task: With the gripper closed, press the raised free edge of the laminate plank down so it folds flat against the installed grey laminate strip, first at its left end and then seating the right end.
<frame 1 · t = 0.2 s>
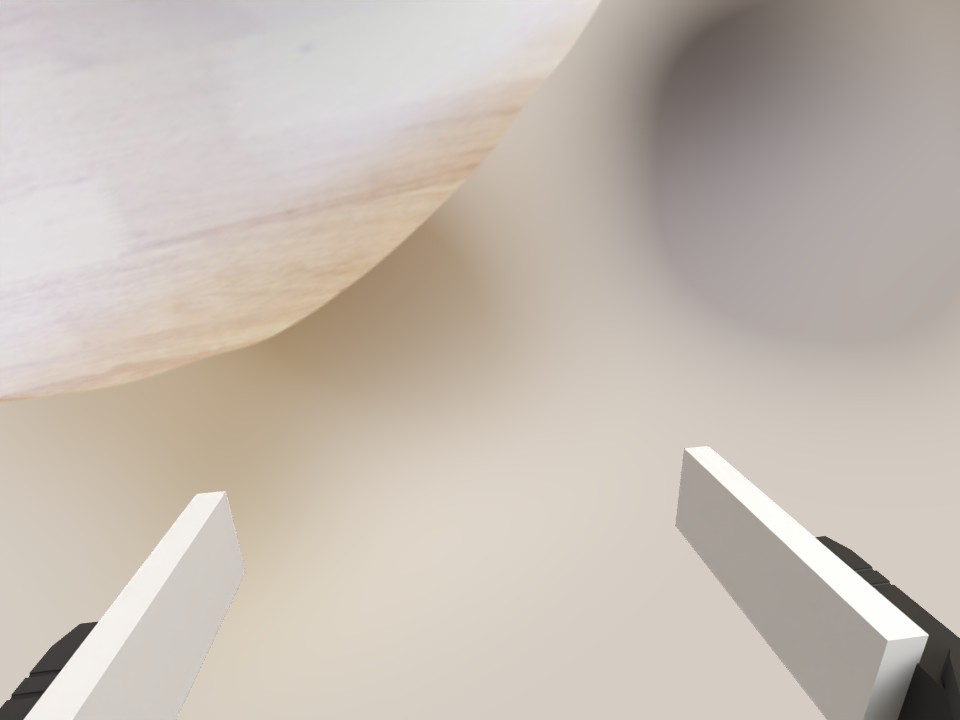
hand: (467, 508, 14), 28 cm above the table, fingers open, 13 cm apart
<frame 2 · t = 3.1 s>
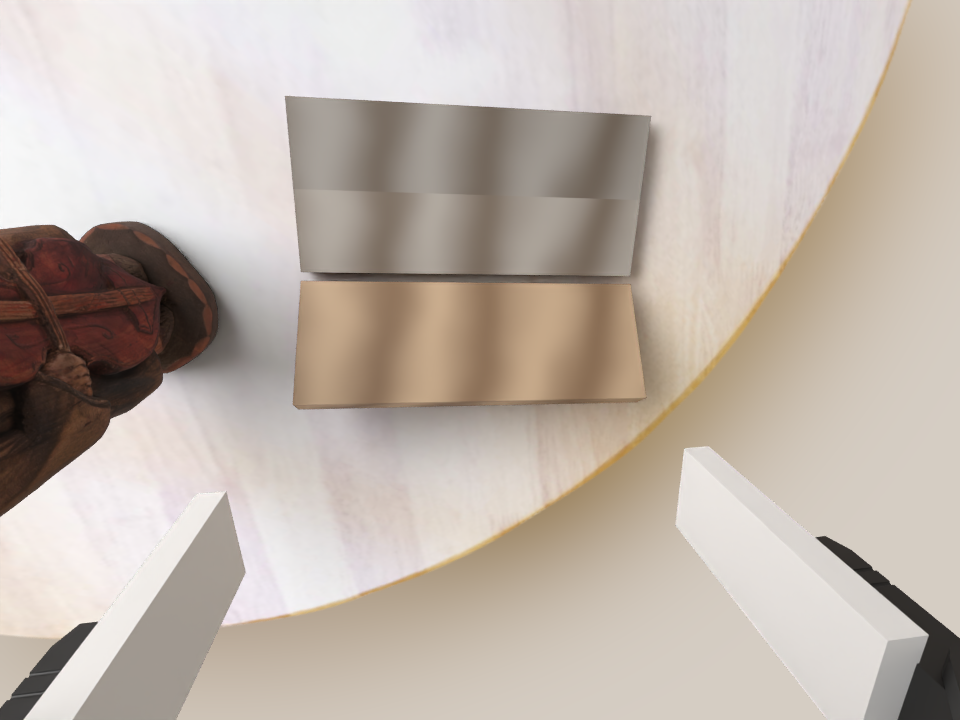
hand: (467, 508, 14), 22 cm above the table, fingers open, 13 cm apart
plank: (473, 343, 31), point 3 cm above the table, hinge at 35.0°
laid strip: (471, 194, 32), on the table
figurine: (152, 296, 32), on the table
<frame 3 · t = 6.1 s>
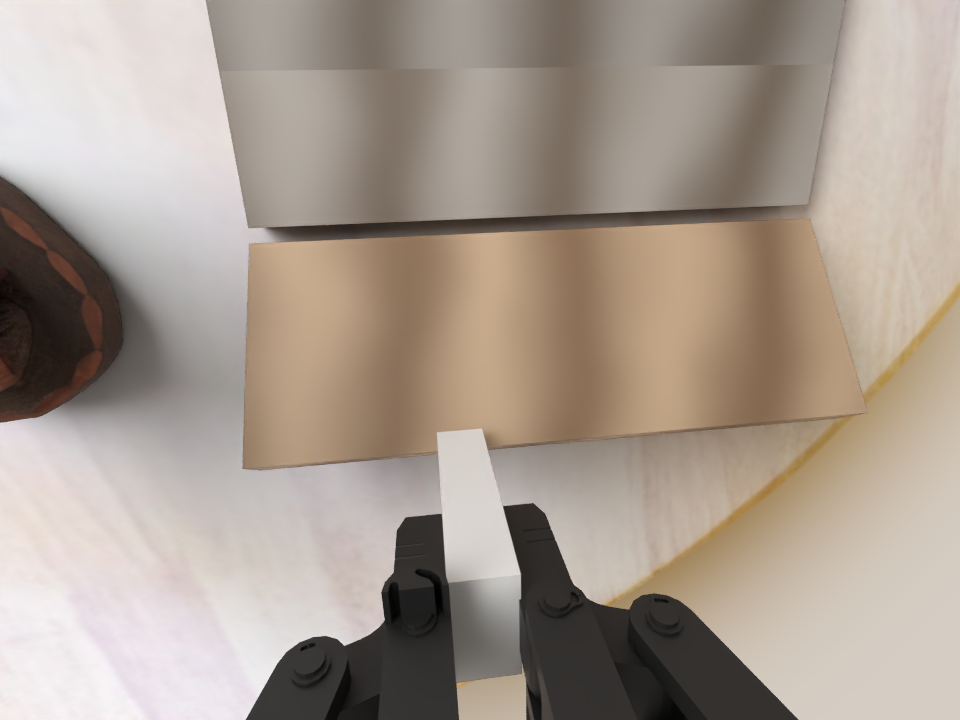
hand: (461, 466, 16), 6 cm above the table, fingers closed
plank: (555, 334, 18), point 3 cm above the table, hinge at 33.8°, touching gripper
laid strip: (536, 77, 18), on the table
figurine: (6, 289, 19), on the table
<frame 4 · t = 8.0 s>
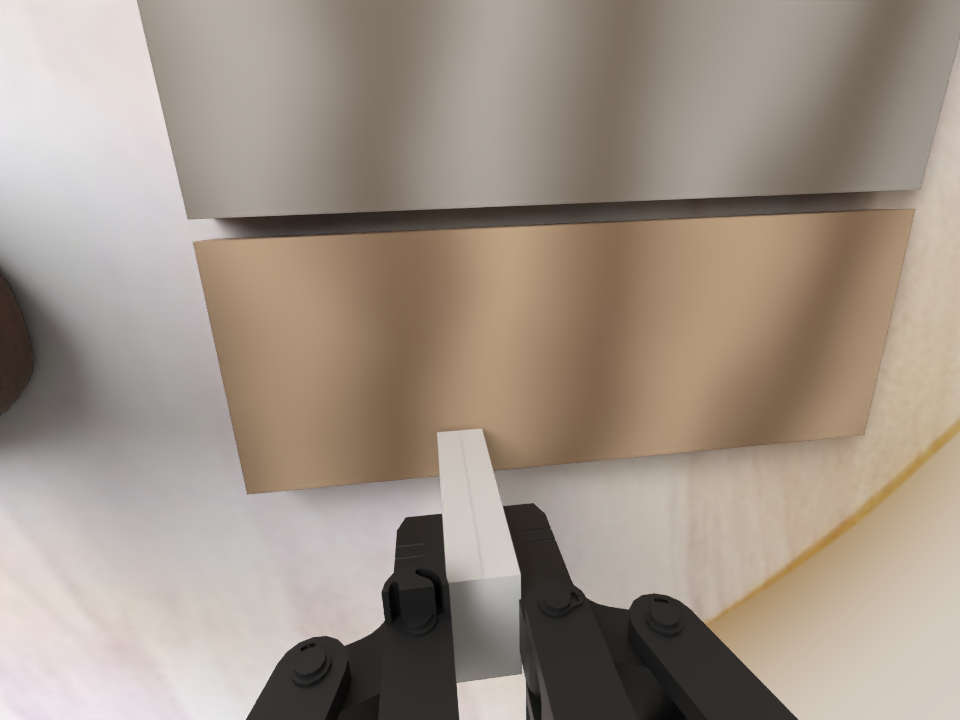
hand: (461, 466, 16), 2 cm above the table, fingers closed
plank: (571, 346, 16), point 1 cm above the table, hinge at 2.2°, touching gripper
laid strip: (572, 18, 14), on the table
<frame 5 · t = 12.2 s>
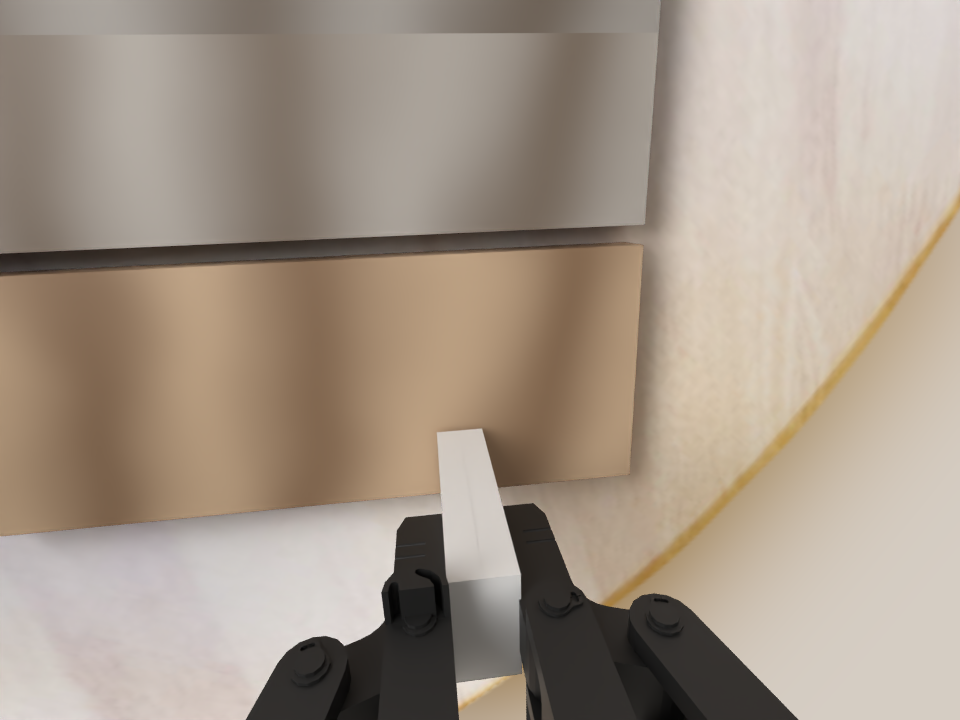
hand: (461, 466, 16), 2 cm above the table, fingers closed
plank: (300, 385, 16), point 1 cm above the table, hinge at 1.7°, touching gripper
laid strip: (253, 51, 13), on the table
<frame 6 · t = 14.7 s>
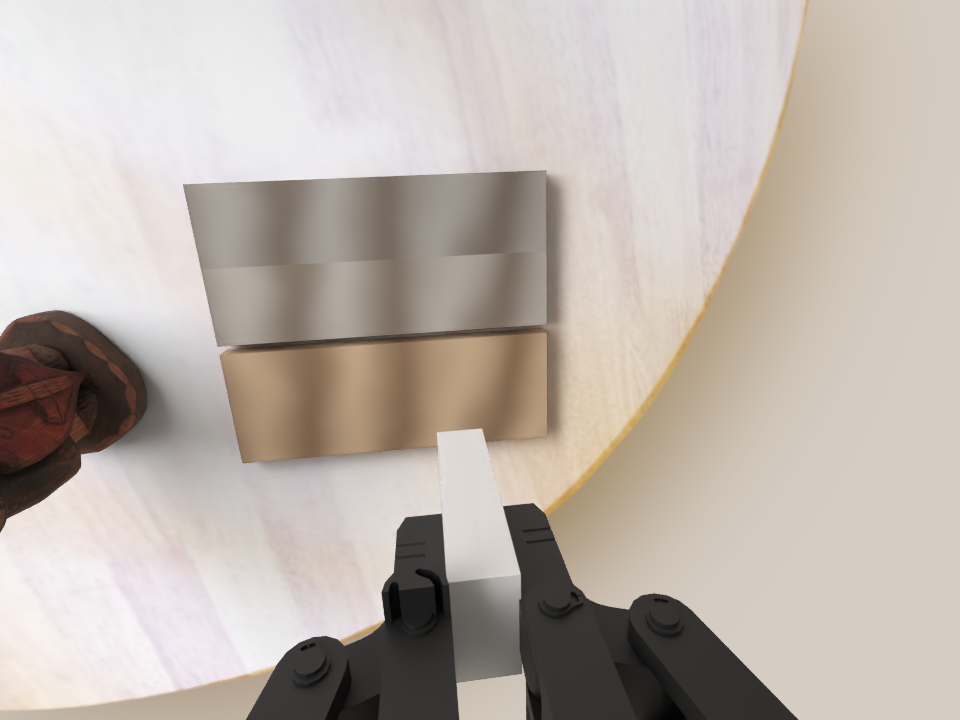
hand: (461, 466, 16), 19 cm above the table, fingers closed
plank: (394, 394, 34), point 1 cm above the table, hinge at 0.0°
laid strip: (381, 257, 32), on the table
figurine: (82, 378, 33), on the table
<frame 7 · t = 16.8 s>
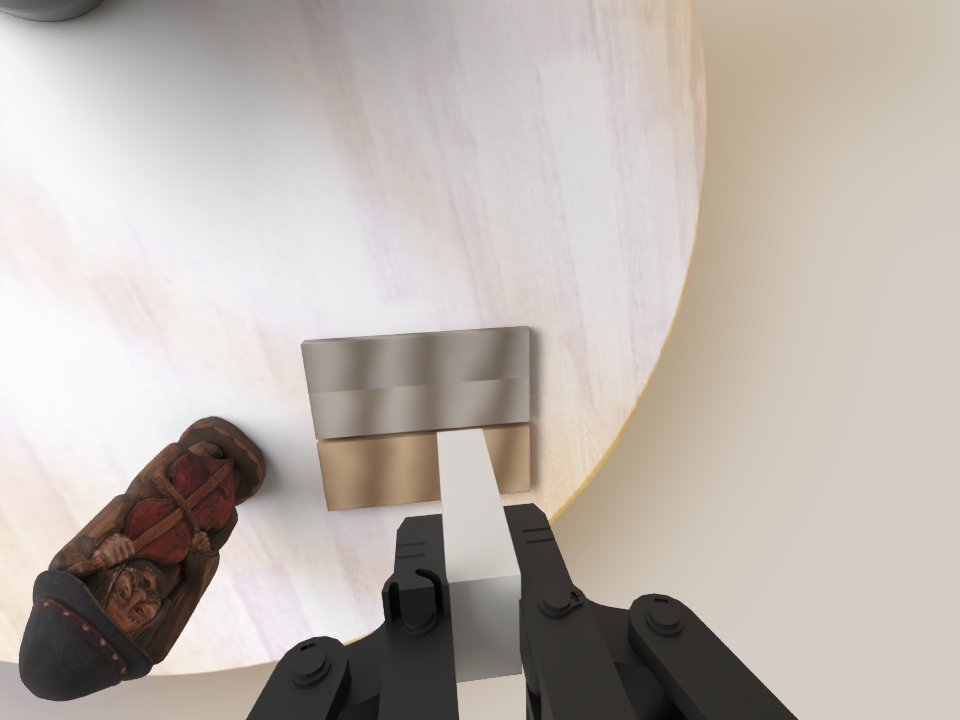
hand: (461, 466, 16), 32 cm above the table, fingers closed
plank: (428, 465, 52), point 1 cm above the table, hinge at 0.0°
laid strip: (421, 379, 49), on the table
figurine: (223, 457, 50), on the table
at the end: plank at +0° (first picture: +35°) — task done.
